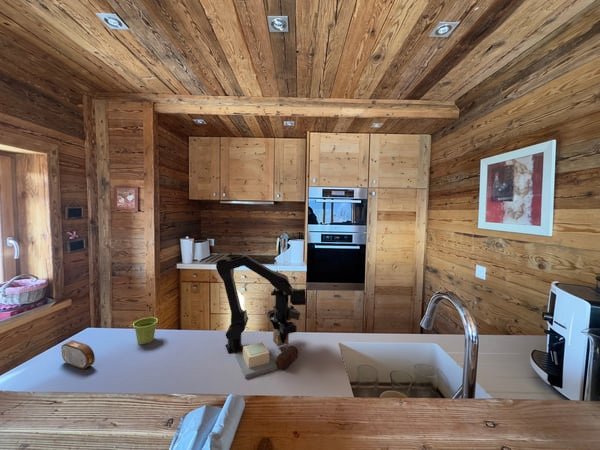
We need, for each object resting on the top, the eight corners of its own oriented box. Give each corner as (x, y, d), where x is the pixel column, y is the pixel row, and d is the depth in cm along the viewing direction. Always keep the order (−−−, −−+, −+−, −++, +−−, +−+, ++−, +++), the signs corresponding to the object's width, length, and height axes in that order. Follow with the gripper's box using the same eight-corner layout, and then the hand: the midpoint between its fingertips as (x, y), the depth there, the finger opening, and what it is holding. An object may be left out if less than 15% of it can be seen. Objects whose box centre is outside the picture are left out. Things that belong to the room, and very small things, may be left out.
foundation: (235, 357, 100) (236, 343, 99) (264, 350, 105) (264, 337, 105) (245, 378, 87) (245, 363, 87) (276, 369, 93) (277, 354, 93)
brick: (284, 372, 92) (284, 359, 92) (275, 368, 94) (276, 356, 94) (298, 357, 101) (298, 346, 101) (290, 354, 103) (290, 343, 103)
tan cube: (273, 340, 109) (273, 329, 108) (283, 338, 111) (283, 327, 111) (277, 346, 104) (277, 335, 104) (288, 343, 107) (288, 332, 106)
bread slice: (96, 367, 91) (95, 345, 91) (86, 372, 88) (85, 349, 88) (69, 358, 96) (69, 337, 96) (59, 363, 93) (59, 341, 93)
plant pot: (162, 337, 114) (162, 318, 113) (145, 348, 104) (145, 328, 104) (145, 334, 116) (145, 316, 115) (127, 345, 107) (127, 325, 106)
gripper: (308, 309, 102) (307, 346, 103) (289, 295, 119) (288, 327, 119) (283, 314, 97) (282, 353, 98) (267, 298, 113) (266, 331, 114)
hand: (280, 339), depth 108 cm, fingers closed on tan cube, 5 cm apart
